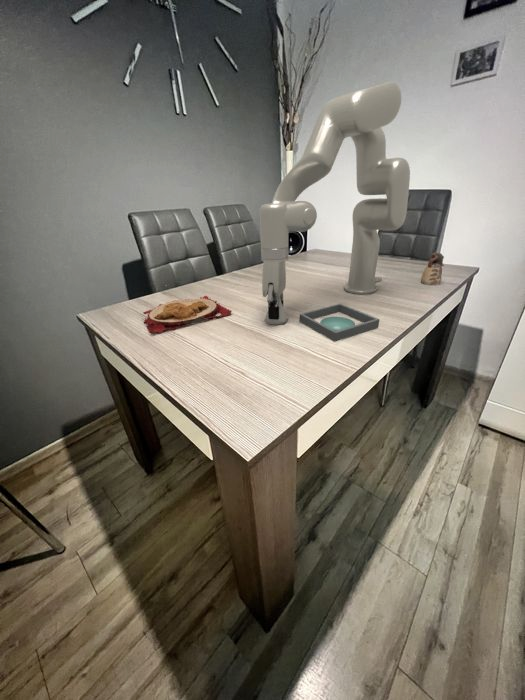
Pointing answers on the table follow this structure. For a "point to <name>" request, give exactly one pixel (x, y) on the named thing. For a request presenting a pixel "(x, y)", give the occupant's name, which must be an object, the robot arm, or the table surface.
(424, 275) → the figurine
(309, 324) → the square tray with dome
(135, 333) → the table surface
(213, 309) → the plate with food
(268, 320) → the flask
